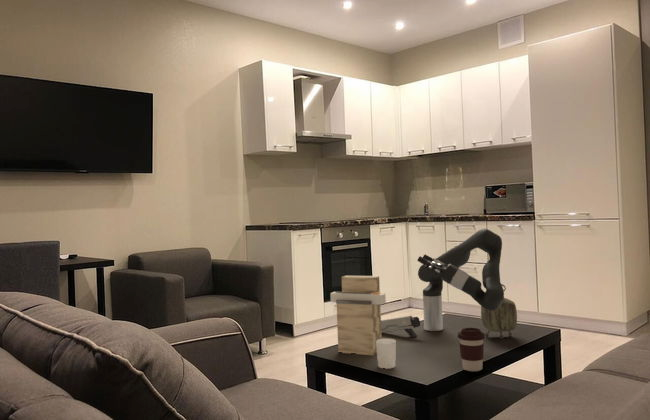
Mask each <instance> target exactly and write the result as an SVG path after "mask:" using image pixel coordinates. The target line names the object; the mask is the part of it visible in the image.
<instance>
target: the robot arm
mask: <svg viewBox="0 0 650 420" xmlns="http://www.w3.org/2000/svg"><path fill="white" fill-rule="evenodd" d="M502 240H503V239H502V237H501V236H500V235H499V234H497V233H495V232H493V231H492V230H490V229H488V228H481V229H478V231H475V233H473V234H472V235H471V236H469V237H468V238H467V239H465V240H464V241H462V242H461V243H459V244H458V245H456V246H454V247H452V248H450V249H449V250H447V251H446V252H444V253H442V254H441V255H440V256H438V257H436V258H433V257H432V256H431V257H430V256H429V255H427V254H423V256H418V259H417V262H419V263H420V264H421V265H420V267H419V268H418V271H417V276H418V278H419V280H420V281H422V282H424V283H428V285H427V286H426V287H425V288H424V289H422V302H423V305H422V306H423V328H424V330H425V331H427V332H429V331H430V332H439V331H443V328H444V327H443V323H444V322H443V320H444V319H443V299H442V298H443V297H442V295H443V294H442V291H443V287H444V284H443V283H447V284H448V285H450V286H452V287H454V288H456V289H457V290H460V291H462V292H463V293H465V294H467V295H469V296H470V297H471V298H472V299H473V300H474V301H476V303H477V304H478V305H480V307H481V306H482V307H483V308H485V309H487V310H490V311H494V310H496V309H497V308H498V307H499V305H500V303H501V302H502V300H503V298H505V291H504V286H502V285H501V284H502V283H501V273H500V265H501V257H502V256H501V255H502V249H503V241H502ZM474 249H479V250H481V251H483V252H485V253H487V255H488V259H489V260H487V262H486V263H485V264H484V265H483V267H482V271H481V275H482V276H481V279H482V280H479V279H477V278H475V277H474V276H472V275H470V274H469V273H467V272H465V271H464V270H462V269H461V267H462V266H464V265H466V264H467V263H468V262H469V260H470V256H471V252H472V250H474ZM481 281H482V282H481ZM482 285H483V288H484V289H485V291H484V290H483V289H482Z"/></svg>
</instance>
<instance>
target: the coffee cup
mask: <svg viewBox="0 0 650 420" xmlns="http://www.w3.org/2000/svg"><path fill="white" fill-rule="evenodd" d="M485 334H486V333H484V332H483V331H481V329H480V328H476V327H465V328H462V329H461V331H459V332H457V338H458V339H459V352H460V358H461V364H462V369H463V370H464V371H468V372H479V371H481V370H483V360H484V351H485V350H484V347H485V345H484V340H485V338H486V336H485Z"/></svg>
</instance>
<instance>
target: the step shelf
mask: <svg viewBox="0 0 650 420" xmlns="http://www.w3.org/2000/svg"><path fill="white" fill-rule="evenodd" d="M380 287H381V286H380V276H379V275H343V276H341V292H362V293H375V292H378V293H381V289H380ZM335 303H336V322H337V323H336V326H337V328H336V329H337V350H338V351H337V352H342V354H351V353H356V354H355V355H363V356H364V355H366V356H374V355H376V354H377V350H376V340H378V339H383V338H382V333H381V320H382V314H381V313H382V311H381V304H372V301H361V300H336V302H335Z"/></svg>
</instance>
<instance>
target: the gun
mask: <svg viewBox="0 0 650 420" xmlns="http://www.w3.org/2000/svg"><path fill="white" fill-rule="evenodd" d="M420 326H421V321H420V318H419V317H418V316H413V315H407V316H401V317H394V318H389V319H388V318H387V319H381V334H383V333H385V334H386V333H389V332H391V333H392V332H398V331H399V332H400V331H405V332H406V333H407V335H408V336H409V337H410V338H417V337H418V334H417V333H416V332H415V331H414V330H413V329H416V328H419V327H420Z"/></svg>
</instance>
